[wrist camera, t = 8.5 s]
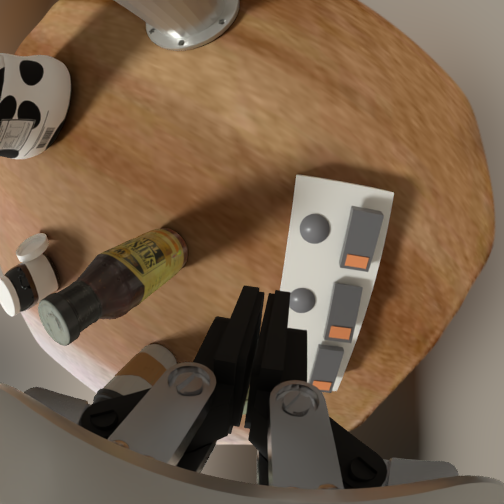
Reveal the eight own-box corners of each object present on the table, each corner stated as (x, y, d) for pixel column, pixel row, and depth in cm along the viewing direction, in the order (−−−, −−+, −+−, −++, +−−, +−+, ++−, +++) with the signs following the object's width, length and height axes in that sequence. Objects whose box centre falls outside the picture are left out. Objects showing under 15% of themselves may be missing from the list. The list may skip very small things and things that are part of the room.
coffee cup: (155, 378, 43) (114, 438, 29) (130, 341, 41) (78, 397, 27) (192, 374, 41) (154, 444, 27) (167, 333, 39) (115, 400, 25)
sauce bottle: (194, 234, 34) (84, 311, 15) (185, 278, 36) (91, 375, 17) (149, 219, 34) (26, 274, 15) (143, 262, 36) (37, 337, 18)
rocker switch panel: (297, 174, 29) (296, 174, 26) (384, 189, 28) (394, 192, 24) (267, 364, 38) (263, 381, 34) (335, 374, 36) (336, 391, 33)
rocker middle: (333, 282, 28) (335, 283, 27) (360, 286, 28) (363, 287, 27) (323, 336, 28) (324, 340, 27) (349, 340, 28) (351, 343, 27)
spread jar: (46, 297, 44) (7, 323, 33) (24, 246, 41) (-19, 265, 31) (74, 281, 40) (27, 311, 30) (49, 222, 38) (-2, 241, 27)
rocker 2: (351, 205, 24) (353, 210, 23) (381, 211, 24) (384, 216, 23) (338, 261, 27) (339, 268, 26) (366, 265, 27) (368, 272, 26)
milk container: (35, 68, 30) (-38, 60, 13) (92, 54, 28) (3, 28, 11) (18, 154, 36) (-56, 166, 19) (69, 160, 34) (-28, 174, 17)
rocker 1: (318, 344, 31) (319, 349, 29) (342, 347, 30) (344, 352, 29) (307, 384, 31) (307, 390, 30) (330, 387, 31) (331, 393, 30)
